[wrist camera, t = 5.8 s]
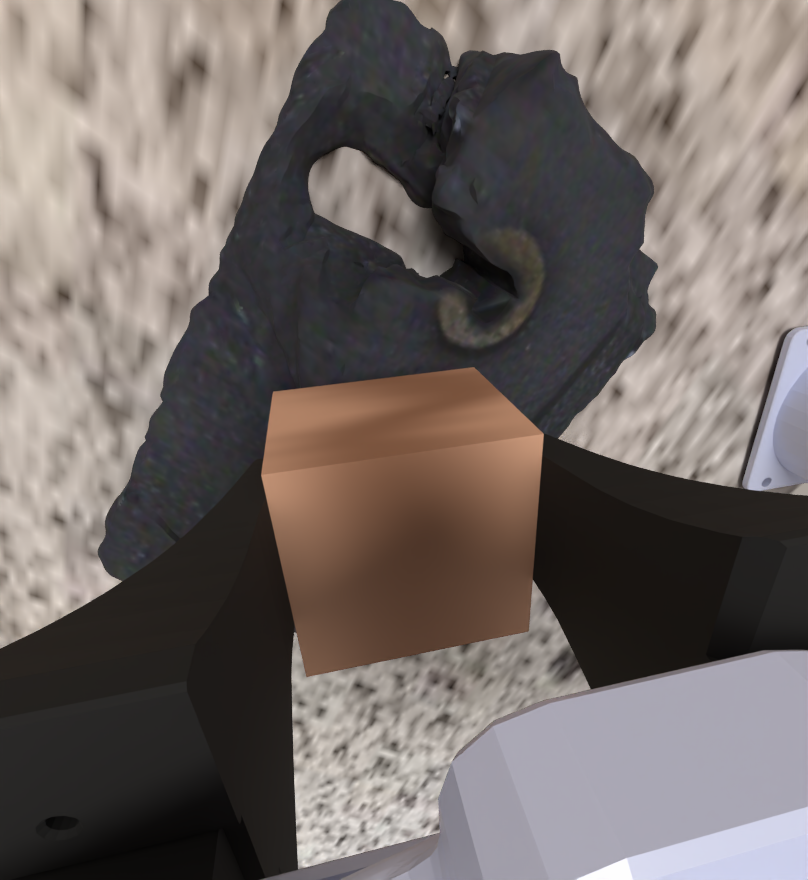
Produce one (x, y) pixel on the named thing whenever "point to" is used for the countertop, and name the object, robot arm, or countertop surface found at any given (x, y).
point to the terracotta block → (402, 514)
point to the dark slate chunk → (383, 271)
